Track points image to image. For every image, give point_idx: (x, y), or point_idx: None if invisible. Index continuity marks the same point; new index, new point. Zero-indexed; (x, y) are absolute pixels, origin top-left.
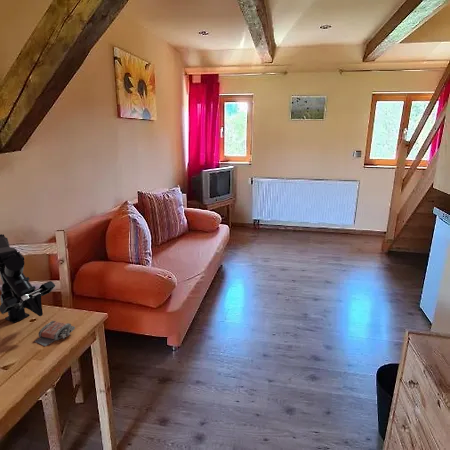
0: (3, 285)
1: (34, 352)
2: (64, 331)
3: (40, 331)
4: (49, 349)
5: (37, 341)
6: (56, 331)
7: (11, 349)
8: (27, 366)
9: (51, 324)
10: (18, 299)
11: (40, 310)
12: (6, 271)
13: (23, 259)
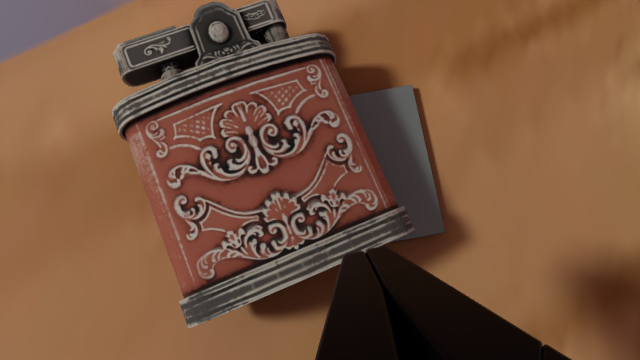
0: None
1: (500, 77)
2: (230, 37)
3: (395, 223)
4: (404, 23)
5: (429, 202)
6: (288, 76)
7: (623, 276)
8: None
9: (257, 244)
10: None
11: (376, 292)
12: None
13: None
